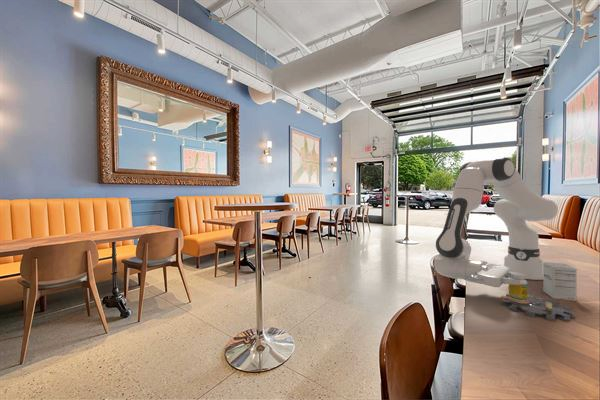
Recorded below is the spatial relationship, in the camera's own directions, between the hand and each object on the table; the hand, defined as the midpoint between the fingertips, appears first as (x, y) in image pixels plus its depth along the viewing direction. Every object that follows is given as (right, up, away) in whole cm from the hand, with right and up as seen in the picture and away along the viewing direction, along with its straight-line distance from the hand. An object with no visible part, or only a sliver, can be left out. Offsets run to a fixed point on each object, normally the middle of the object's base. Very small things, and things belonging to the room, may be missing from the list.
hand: (521, 280), depth 94 cm
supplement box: (+22, -9, +7) cm, 25 cm away
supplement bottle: (0, -8, +1) cm, 8 cm away
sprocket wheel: (+3, -9, -3) cm, 10 cm away
